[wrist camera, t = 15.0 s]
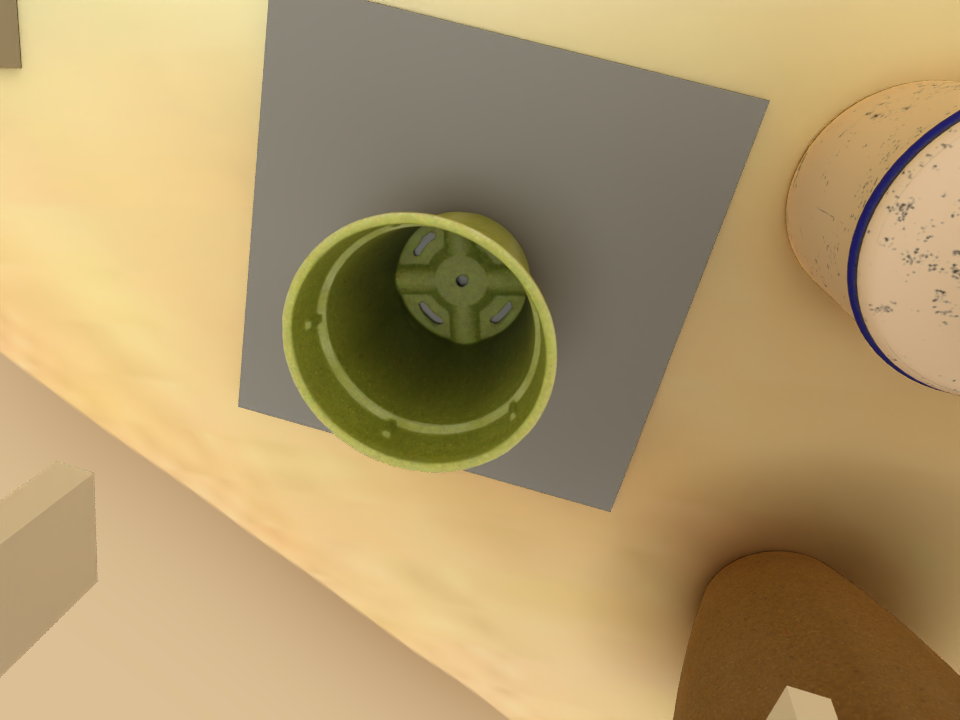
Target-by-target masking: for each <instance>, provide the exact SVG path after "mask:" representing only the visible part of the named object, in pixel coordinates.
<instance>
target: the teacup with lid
mask: <svg viewBox="0 0 960 720" xmlns="http://www.w3.org/2000/svg"><path fill="white" fill-rule="evenodd" d="M786 224H787V232H788V236H789V241H790V244H791V246H792V249H793V252H794V254H795V256H796V258H797V260H798V261H799V263H800V264H801V266H802V268H803V269H804V270H805V271H806V272H807V274H808V275H809V276H810V277H811V278H812V279H813V280H814V281H815V282H816V283H817V284H818V285H819V286H820V287H821V288H822V289H823V290H824V291H825V292H826V293H828V294H829V295H830V296H831V297H832V298H833V299H834V300H835V301H836V302H837V303H838V304H839V305H840V306H841V307H842V308H843V309H844V310H845V311H846V312H847V313H848V314H849V315H850V316H851V317H852V318H853V319H854V320H855V321H856V322H857V325H858V327H859V329H860V331H861V333H862V334H863V336H864V337H865V339H866V340H867V342H868V343H869V345H870V346H871V347H872V348H873V350H874V351H875V352H876V353H877V354H878V355H879V356H880V357H881V358H882V359H883V360H884V361H885V362H886V363H887V364H889V365H890V366H891V367H893V368H894V369H895V370H896V371H898V372H900V373H901V374H903V375H905V376H906V377H908V378H909V379H912V380H914V381H916V382H918V383H920V384H922V385H925V386H928V387H930V388H933V389H936V390H940V391H944V392H948V393H952V394H956V395H960V81H919V82H913V83H907V84H903V85H899V86H895V87H891V88H889V89H886V90H883V91H880V92H878V93H876V94H873V95H871V96H869V97H867V98H865V99H863V100H862V101H860V102H858V103H856V104H855V105H853V106H852V107H850V108H849V109H847V110H846V111H844V112H843V113H842V114H841V115H839V116H838V117H837V118H836V119H834V120H833V121H832V122H831V123H830V124H829V125H828V126H827V127H826V128H825V129H824V130H823V131H822V132H821V133H820V134H819V135H818V137H817V138H816V139H815V140H814V142H813V143H812V144H811V146H810V147H809V148H808V150H807V151H806V153H805V155H804V156H803V158H802V160H801V162H800V163H799V165H798V167H797V170H796V172H795V174H794V177H793V179H792V183H791V186H790V189H789V194H788V199H787V207H786Z"/></svg>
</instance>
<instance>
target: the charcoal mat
mask: <svg viewBox="0 0 960 720" xmlns="http://www.w3.org/2000/svg"><path fill="white" fill-rule="evenodd" d="M769 102H770V101H769V100H765V99H761V98H757V97H753V96H749V95H745V94H741V93H737V92H733V91H729V90H725V89H721V88H716V87H712V86H708V85H704V84H700V83H696V82H692V81H688V80H684V79H680V78H676V77H672V76H668V75H664V74H660V73H656V72H652V71H648V70H644V69H640V68H636V67H632V66H628V65H624V64H620V63H616V62H612V61H608V60H604V59H600V58H596V57H592V56H588V55H583V54H579V53H575V52H571V51H567V50H563V49H559V48H555V47H551V46H547V45H543V44H539V43H535V42H531V41H527V40H523V39H519V38H515V37H511V36H507V35H503V34H499V33H495V32H491V31H487V30H483V29H479V28H475V27H471V26H467V25H463V24H459V23H455V22H450V21H446V20H442V19H438V18H434V17H430V16H426V15H422V14H418V13H414V12H410V11H406V10H402V9H398V8H394V7H390V6H386V5H382V4H378V3H374V2H370V1H366V0H269V2H268V15H267V28H266V42H265V55H264V69H263V82H262V95H261V109H260V122H259V136H258V149H257V162H256V176H255V189H254V203H253V216H252V229H251V243H250V256H249V270H248V283H247V297H246V310H245V323H244V337H243V350H242V364H241V377H240V390H239V404H238V407H241V408H245V409H248V410H252V411H255V412H259V413H262V414H266V415H269V416H273V417H276V418H280V419H283V420H287V421H291V422H294V423H298V424H301V425H305V426H308V427H312V428H315V429H319V430H322V431H326V432H329V433H333V432H332V431H331V430H330V429H328V428H327V427H326V426H325V425H324V424H323V423H322V422H321V421H320V420H319V419H318V418H317V417H316V415H315V414H314V413H313V412H312V411H311V409H310V408H309V407H308V405H307V404H306V402H305V401H304V399H303V398H302V396H301V395H300V393H299V391H298V389H297V387H296V385H295V383H294V381H293V379H292V376H291V373H290V371H289V367H288V364H287V361H286V358H285V353H284V348H283V336H282V315H283V309H284V304H285V300H286V296H287V293H288V290H289V288H290V285H291V283H292V280H293V278H294V276H295V274H296V272H297V271H298V269H299V267H300V266H301V264H302V263H303V262H304V260H305V259H306V258H307V256H308V255H309V254H310V253H311V251H312V250H313V249H314V248H315V247H316V246H317V245H318V244H320V243H321V242H322V241H323V240H324V239H325V238H327V237H328V236H330V235H331V234H332V233H334V232H335V231H337V230H339V229H340V228H342V227H344V226H346V225H348V224H350V223H353V222H355V221H358V220H360V219H363V218H367V217H370V216H374V215H379V214H384V213H391V212H418V213H427V214H433V215H439V214H442V213H447V212H469V213H476V214H480V215H483V216H485V217H488V218H490V219H492V220H494V221H496V222H497V223H499V224H500V225H502V226H503V227H504V228H506V229H507V230H508V231H509V232H510V233H511V234H512V235H513V237H514V238H515V239H516V240H517V242H518V243H519V245H520V246H521V248H522V250H523V252H524V254H525V256H526V259H527V262H528V265H529V270H530V275H531V277H532V278H533V279H534V281H535V283H536V284H537V286H538V287H539V289H540V291H541V293H542V295H543V296H544V299H545V301H546V303H547V305H548V308H549V310H550V313H551V317H552V320H553V324H554V329H555V334H556V341H557V368H556V376H555V381H554V385H553V389H552V393H551V396H550V398H549V401H548V403H547V406H546V408H545V410H544V412H543V414H542V415H541V417H540V419H539V420H538V422H537V423H536V425H535V426H534V427H533V429H532V430H531V431H530V432H529V433H528V434H527V435H526V436H525V437H524V438H523V439H522V440H521V441H520V442H519V443H518V444H516V445H515V446H514V447H513V448H512V449H510V450H509V451H508V452H506V453H505V454H503V455H501V456H499V457H498V458H496V459H494V460H492V461H489V462H487V463H484V464H482V465H479V466H476V467H472V468H469V469H465V470H464V471H467V472H471V473H474V474H478V475H481V476H485V477H488V478H492V479H495V480H499V481H502V482H506V483H509V484H513V485H517V486H520V487H524V488H527V489H531V490H534V491H538V492H541V493H545V494H548V495H552V496H555V497H559V498H562V499H566V500H570V501H573V502H577V503H580V504H584V505H587V506H591V507H594V508H598V509H601V510H605V511H608V512H611V509H612V507H613V504H614V502H615V499H616V496H617V494H618V491H619V489H620V486H621V484H622V481H623V478H624V476H625V473H626V471H627V468H628V466H629V463H630V460H631V458H632V455H633V453H634V450H635V447H636V445H637V442H638V440H639V437H640V435H641V432H642V429H643V427H644V424H645V422H646V419H647V416H648V414H649V411H650V409H651V406H652V404H653V401H654V398H655V396H656V393H657V391H658V388H659V385H660V383H661V380H662V378H663V375H664V373H665V370H666V367H667V365H668V362H669V360H670V357H671V355H672V352H673V349H674V347H675V344H676V342H677V339H678V336H679V334H680V331H681V329H682V326H683V324H684V321H685V318H686V316H687V313H688V311H689V308H690V305H691V303H692V300H693V298H694V295H695V293H696V290H697V287H698V285H699V282H700V280H701V277H702V274H703V272H704V269H705V267H706V264H707V262H708V259H709V256H710V254H711V251H712V249H713V246H714V244H715V241H716V238H717V236H718V233H719V231H720V228H721V225H722V223H723V220H724V218H725V215H726V213H727V210H728V207H729V205H730V202H731V200H732V197H733V194H734V192H735V189H736V187H737V184H738V182H739V179H740V176H741V174H742V171H743V169H744V166H745V163H746V161H747V158H748V156H749V153H750V151H751V148H752V145H753V143H754V140H755V138H756V135H757V132H758V130H759V127H760V125H761V122H762V120H763V117H764V114H765V112H766V109H767V107H768V104H769ZM434 238H435V234H434V233H431V232H430V233H428V234H427V235H425V236H424V237H423V238H422V239H421V242H420V244H419V245H418V246H417V247H416V248H415V249H414V253H415V256H419V255H420V253H421V251H422V250H423V249H424V248H425V246H426V245H427V244H428V243H430V241H431V240H433V239H434ZM456 283H457V285H458V286H460V287H462V286H465V285H466V284H467V278H466V277H465V276H459V277H458V278H457V279H456ZM419 305H420V308H421V310H422V312H423V313H424V314H425V315H426V316H427V317H428V318H429V319H430V320H431V321H433V322H435V323H438V324H442V323H443V320H442V319H441V318H440V317H439V316H437V315H435V314H434V313H433V312H432V311H431V310H430V309H429V307H428V306H427V305H426V304H425V303H423V302H421V303H420V304H419ZM511 308H512V307H511V302H508V303H507V304H506V305H505V307H504V308H503V309H502V310H501V311H500V312H499V313H498V314H497V315H495V316H494V317H493V318H492V319H491V320H490V322H491V323H498V322H500V321H501V320H502V319H503V318H504V317H505V316H506V315H507V314H508V313H509V311H510V310H511ZM333 434H334V433H333Z"/></svg>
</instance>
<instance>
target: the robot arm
mask: <svg viewBox="0 0 960 720" xmlns="http://www.w3.org/2000/svg"><path fill="white" fill-rule="evenodd" d="M96 551H97V550H96V518H95V487H94V473H93V472H90V471H87V470H83V469H80V468H77V467H74V466H70V465H67V464H64V463H60V462H55V463H54V464H52V465H51V466H49V467H48V468H47V469H45V470H44V471H42V472H41V473H39V474H38V475H36V476H35V477H34V478H32V479H31V480H29V481H28V482H26V483H25V484H23V485H22V486H21V487H19V488H18V489H16V490H15V491H13V492H12V493H11V494H9V495H8V496H6V497H5V498H4V499H2V500H1V501H0V677H1V676H2V675H3V674H4V673H5V672H6V671H7V670H8V669H9V668H10V667H11V666H12V665H13V664H14V663H15V662H16V661H17V660H18V659H19V658H20V657H21V656H22V655H23V654H25V653H26V651H28V650H29V649H30V647H32V646H33V645H34V643H36V642H37V641H38V640H39V639H40V638H41V637H42V636H43V635H44V634H45V633H46V632H47V631H48V630H49V629H50V628H51V627H52V626H53V625H54V624H55V623H56V622H57V621H58V620H59V619H60V618H61V617H62V616H63V615H64V614H65V613H66V612H67V611H68V610H69V609H70V608H71V607H72V606H73V605H74V604H75V603H76V602H77V601H78V600H79V599H80V598H81V597H82V596H83V595H84V594H85V593H86V592H87V591H88V590H89V589H90V588H92V587H93V586H94V585H95V584H96V583H97V552H96ZM766 720H838V718H837V715H836V712H835V710H834V707H833V704H832V701H831V699H829V698H826V697H822V696H819V695H816V694H813V693H809V692H806V691H803V690H800V689H796V688H793V687H790V686H786V688H785V689H784V691H783V693H782V694H781V696H780V698H779V699H778V701H777V703H776V704H775V706H774V707H773V709H772V711H771V712H770V714H769V716H768V717H767V719H766Z"/></svg>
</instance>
